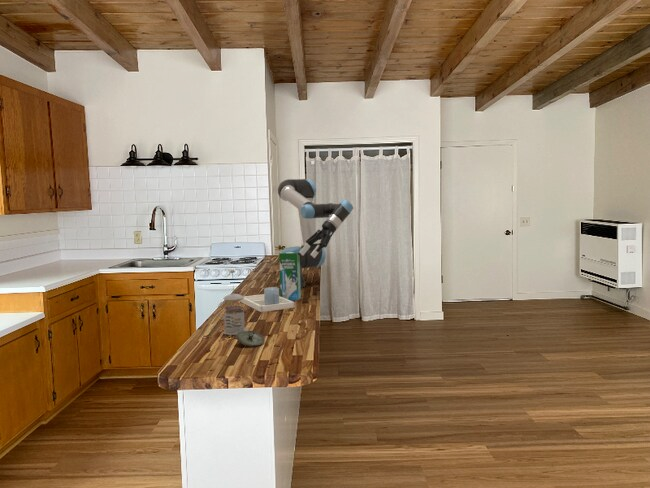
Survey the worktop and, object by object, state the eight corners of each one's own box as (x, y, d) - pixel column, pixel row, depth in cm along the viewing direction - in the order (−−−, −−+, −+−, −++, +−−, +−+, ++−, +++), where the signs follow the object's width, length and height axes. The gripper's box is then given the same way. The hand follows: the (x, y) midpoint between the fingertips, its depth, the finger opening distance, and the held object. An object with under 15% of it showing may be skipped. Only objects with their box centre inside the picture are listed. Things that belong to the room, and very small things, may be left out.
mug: (262, 306, 251) (261, 288, 250) (276, 304, 254) (275, 286, 253) (269, 310, 243) (269, 290, 242) (283, 308, 246) (283, 289, 245)
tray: (240, 303, 264) (240, 296, 264) (272, 299, 272) (272, 293, 272) (260, 314, 240) (260, 306, 239) (294, 309, 247) (294, 302, 247)
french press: (242, 335, 204) (239, 271, 202) (214, 334, 206) (211, 271, 204) (250, 328, 213) (248, 267, 211) (224, 328, 216) (221, 267, 214)
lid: (251, 338, 199) (251, 325, 198) (270, 342, 193) (269, 329, 192) (230, 345, 191) (229, 331, 190) (249, 349, 185) (248, 335, 184)
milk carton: (301, 298, 273) (299, 250, 271) (298, 302, 264) (296, 252, 262) (283, 298, 274) (282, 251, 272) (280, 302, 265) (279, 253, 263)
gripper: (316, 219, 287) (291, 248, 281) (338, 220, 265) (312, 252, 259) (325, 228, 290) (301, 257, 284) (347, 230, 268) (322, 262, 262)
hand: (306, 255), depth 272 cm, fingers open, 13 cm apart
